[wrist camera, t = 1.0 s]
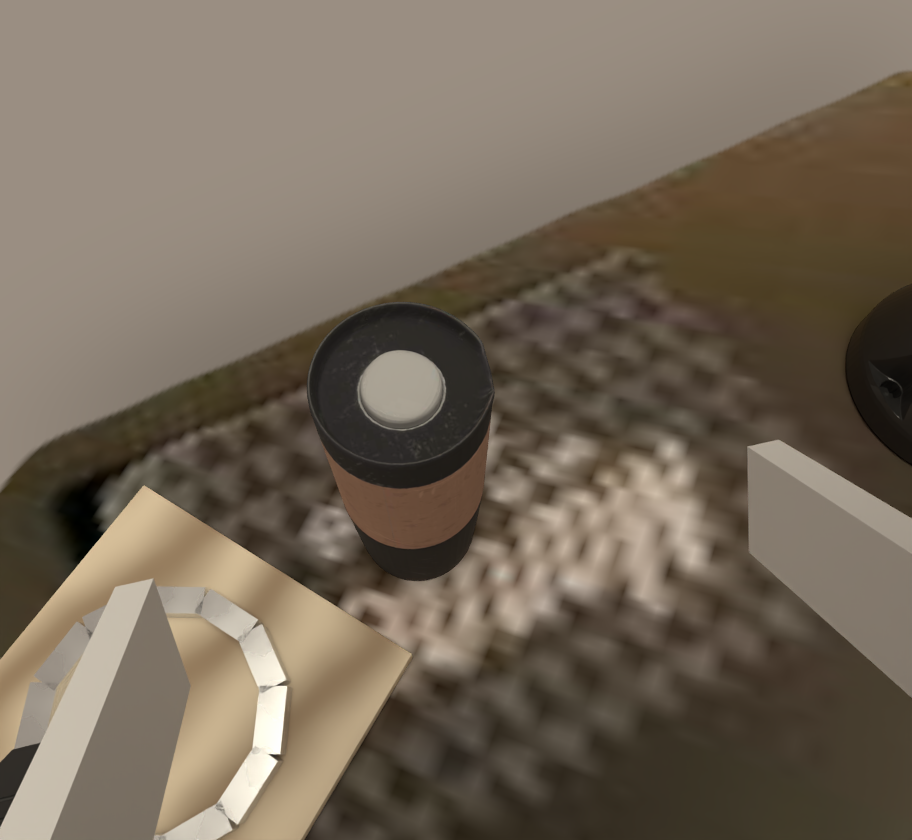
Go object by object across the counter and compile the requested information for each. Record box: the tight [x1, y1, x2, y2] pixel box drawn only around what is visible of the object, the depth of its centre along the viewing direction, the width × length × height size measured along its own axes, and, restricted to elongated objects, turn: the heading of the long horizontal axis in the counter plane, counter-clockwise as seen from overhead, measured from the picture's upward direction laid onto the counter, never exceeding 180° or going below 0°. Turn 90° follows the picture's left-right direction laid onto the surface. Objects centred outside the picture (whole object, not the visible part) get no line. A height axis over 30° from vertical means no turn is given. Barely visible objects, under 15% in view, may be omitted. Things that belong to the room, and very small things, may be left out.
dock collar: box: [14, 586, 292, 840], centre depth 40 cm, size 14×14×2 cm
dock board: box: [0, 486, 413, 840], centre depth 42 cm, size 20×20×2 cm
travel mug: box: [307, 302, 495, 581], centre depth 38 cm, size 8×8×20 cm
